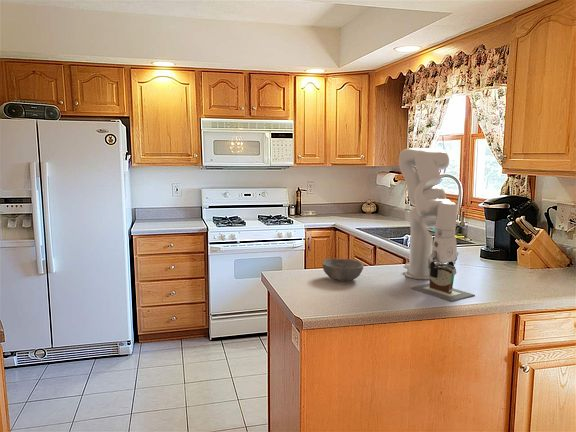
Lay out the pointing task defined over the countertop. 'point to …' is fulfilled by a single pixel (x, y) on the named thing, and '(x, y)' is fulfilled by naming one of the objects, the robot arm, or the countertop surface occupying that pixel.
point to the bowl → (342, 269)
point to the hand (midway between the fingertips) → (441, 275)
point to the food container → (443, 278)
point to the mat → (450, 297)
